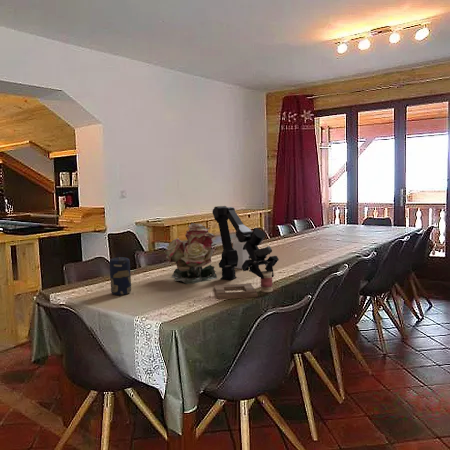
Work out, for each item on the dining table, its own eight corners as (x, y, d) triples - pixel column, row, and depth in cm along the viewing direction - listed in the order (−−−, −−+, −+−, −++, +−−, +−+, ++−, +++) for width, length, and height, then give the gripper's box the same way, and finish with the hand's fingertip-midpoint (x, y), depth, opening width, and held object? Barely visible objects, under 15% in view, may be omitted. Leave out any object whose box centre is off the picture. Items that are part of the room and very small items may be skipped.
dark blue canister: (133, 290, 217) (131, 254, 215) (129, 295, 207) (127, 257, 206) (113, 291, 217) (111, 255, 215) (109, 296, 207) (106, 258, 205)
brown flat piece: (214, 288, 217) (214, 285, 217) (250, 286, 219) (250, 283, 219) (217, 299, 197) (217, 295, 197) (257, 296, 199) (257, 293, 199)
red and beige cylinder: (258, 291, 208) (258, 272, 207) (264, 288, 213) (263, 270, 212) (269, 292, 205) (269, 273, 204) (274, 290, 210) (274, 271, 209)
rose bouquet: (162, 276, 247) (160, 223, 244) (211, 271, 257) (210, 219, 254) (174, 286, 223) (171, 227, 220) (228, 280, 233) (226, 223, 230)
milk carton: (240, 265, 270) (239, 235, 268) (250, 267, 265) (249, 235, 263) (233, 268, 264) (232, 236, 262) (243, 269, 260) (242, 237, 258)
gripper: (244, 243, 205) (259, 270, 197) (275, 239, 215) (291, 264, 207) (235, 257, 213) (249, 284, 204) (266, 253, 223) (280, 278, 214)
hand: (268, 277), depth 207 cm, fingers closed on red and beige cylinder, 5 cm apart
